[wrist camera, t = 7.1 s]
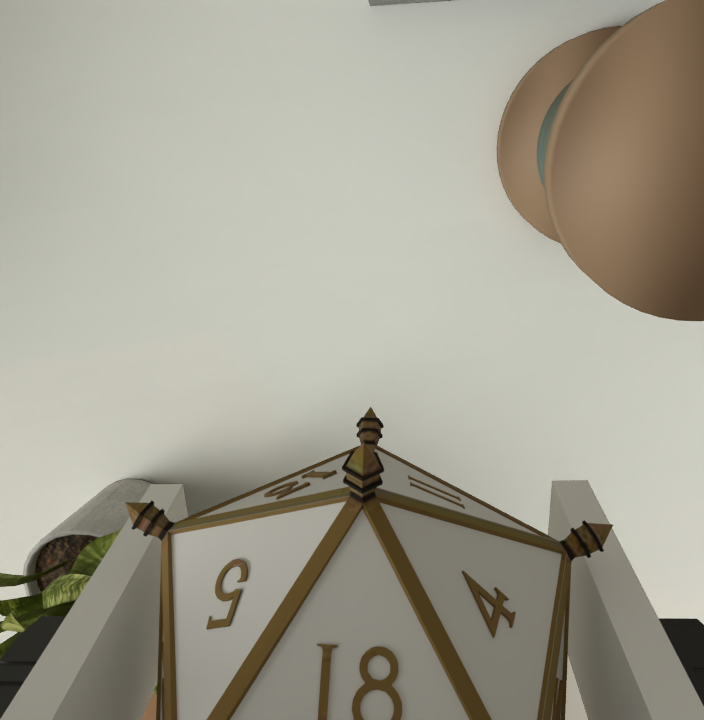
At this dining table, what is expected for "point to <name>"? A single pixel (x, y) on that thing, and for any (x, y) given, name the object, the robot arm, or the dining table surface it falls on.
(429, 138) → the dining table surface
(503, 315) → the dining table surface
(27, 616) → the house plant
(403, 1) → the notched board
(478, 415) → the dining table surface
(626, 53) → the bobbin
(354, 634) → the game die
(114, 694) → the robot arm
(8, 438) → the dining table surface
